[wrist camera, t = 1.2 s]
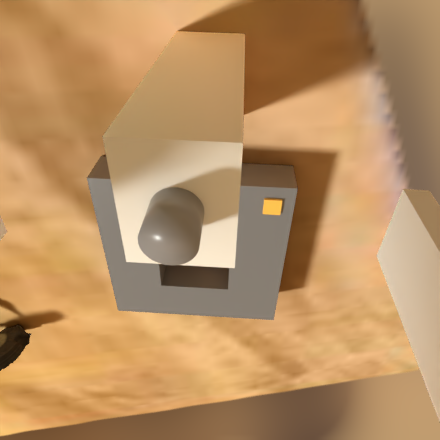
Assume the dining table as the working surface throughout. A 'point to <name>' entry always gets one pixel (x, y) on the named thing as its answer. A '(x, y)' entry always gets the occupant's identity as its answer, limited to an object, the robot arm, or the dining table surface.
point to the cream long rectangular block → (182, 154)
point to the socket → (200, 275)
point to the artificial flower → (12, 344)
